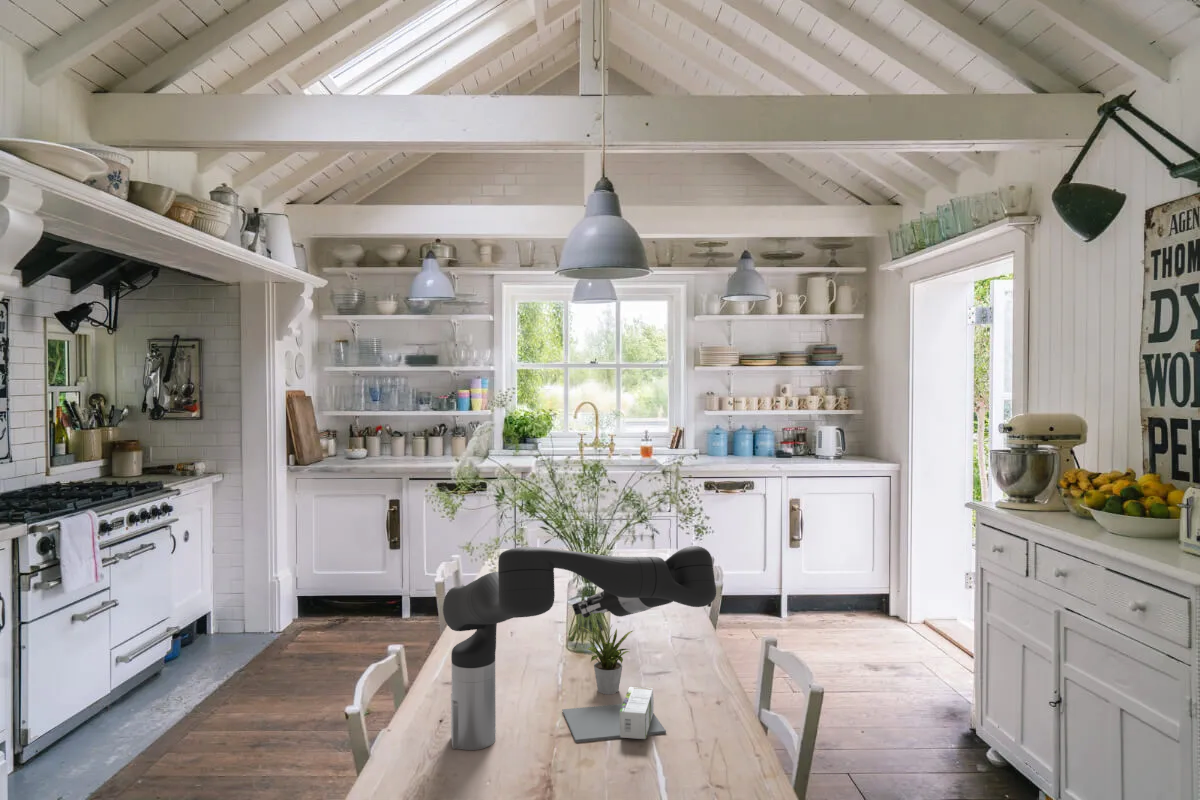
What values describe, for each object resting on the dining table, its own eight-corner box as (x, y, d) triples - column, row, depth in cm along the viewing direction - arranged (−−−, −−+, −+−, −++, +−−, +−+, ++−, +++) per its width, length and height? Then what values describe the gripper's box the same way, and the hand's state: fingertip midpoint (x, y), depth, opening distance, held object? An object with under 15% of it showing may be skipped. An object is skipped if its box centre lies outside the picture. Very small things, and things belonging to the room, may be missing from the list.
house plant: (564, 696, 194) (564, 629, 194) (586, 676, 207) (586, 614, 207) (620, 705, 189) (620, 636, 189) (638, 684, 202) (639, 620, 202)
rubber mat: (575, 742, 170) (575, 739, 170) (562, 711, 185) (562, 709, 185) (665, 733, 174) (665, 730, 174) (645, 704, 190) (645, 701, 190)
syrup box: (619, 738, 171) (628, 710, 185) (646, 740, 170) (653, 711, 184) (619, 711, 170) (628, 685, 185) (646, 713, 169) (653, 687, 184)
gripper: (617, 624, 150) (559, 637, 162) (660, 600, 160) (603, 614, 171) (602, 585, 151) (546, 602, 163) (646, 564, 161) (591, 581, 172)
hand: (576, 608), depth 167 cm, fingers closed
